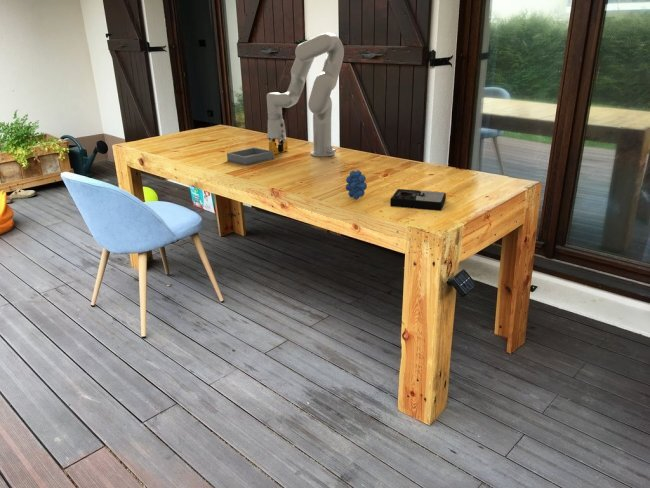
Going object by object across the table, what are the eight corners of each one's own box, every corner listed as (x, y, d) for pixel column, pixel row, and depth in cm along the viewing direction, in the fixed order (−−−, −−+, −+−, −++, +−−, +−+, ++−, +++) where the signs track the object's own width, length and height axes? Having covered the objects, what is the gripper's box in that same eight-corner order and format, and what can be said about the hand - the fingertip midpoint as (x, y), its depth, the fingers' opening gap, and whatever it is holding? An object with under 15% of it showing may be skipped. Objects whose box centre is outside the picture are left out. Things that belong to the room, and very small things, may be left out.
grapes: (374, 200, 206) (374, 170, 202) (360, 204, 203) (361, 173, 198) (354, 193, 215) (355, 165, 210) (341, 197, 211) (341, 167, 207)
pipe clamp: (281, 149, 292) (281, 137, 289) (287, 150, 289) (287, 138, 287) (266, 153, 283) (266, 141, 281) (272, 154, 281) (272, 142, 278)
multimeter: (396, 197, 212) (397, 185, 210) (445, 201, 206) (446, 189, 204) (389, 207, 200) (390, 194, 198) (441, 212, 194) (442, 199, 193)
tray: (273, 159, 273) (273, 151, 271) (246, 165, 261) (245, 157, 259) (254, 154, 282) (254, 147, 281) (227, 160, 270) (226, 153, 269)
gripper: (291, 117, 276) (293, 151, 283) (269, 114, 287) (272, 148, 294) (280, 119, 271) (282, 154, 278) (259, 116, 282) (261, 150, 289)
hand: (277, 150), depth 286 cm, fingers closed on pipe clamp, 4 cm apart
